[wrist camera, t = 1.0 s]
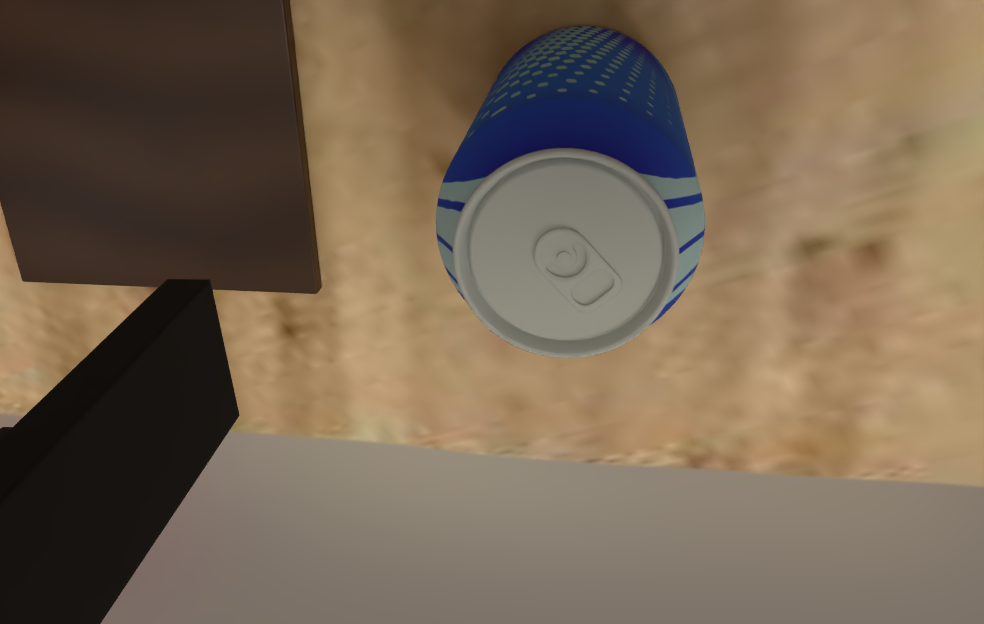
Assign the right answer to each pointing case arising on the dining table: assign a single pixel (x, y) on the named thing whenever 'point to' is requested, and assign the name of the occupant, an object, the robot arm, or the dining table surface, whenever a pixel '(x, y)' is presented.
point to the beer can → (573, 197)
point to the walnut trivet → (155, 144)
